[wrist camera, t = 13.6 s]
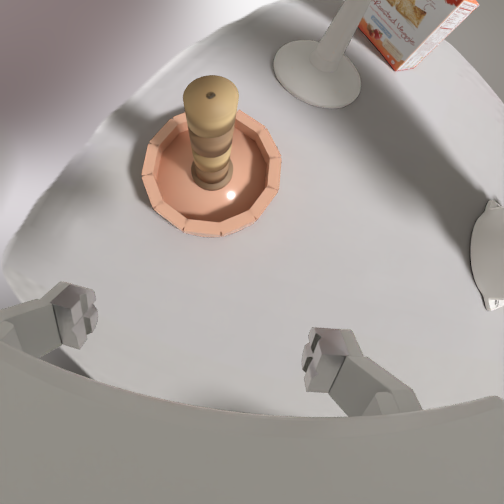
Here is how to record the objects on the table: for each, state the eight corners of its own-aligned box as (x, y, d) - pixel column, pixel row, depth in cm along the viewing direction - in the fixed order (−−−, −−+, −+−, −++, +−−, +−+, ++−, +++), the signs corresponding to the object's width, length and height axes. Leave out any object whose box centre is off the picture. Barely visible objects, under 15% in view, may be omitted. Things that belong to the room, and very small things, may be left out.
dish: (278, 128, 32) (284, 116, 29) (268, 244, 31) (274, 241, 28) (163, 116, 31) (159, 102, 28) (140, 230, 30) (132, 225, 27)
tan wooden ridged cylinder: (235, 155, 30) (250, 73, 16) (230, 193, 30) (242, 129, 16) (195, 150, 30) (183, 67, 16) (188, 188, 29) (168, 122, 15)
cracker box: (345, 17, 36) (391, -63, 15) (368, 16, 37) (415, -55, 16) (393, 73, 36) (465, -3, 15) (413, 69, 37) (481, 4, 16)
